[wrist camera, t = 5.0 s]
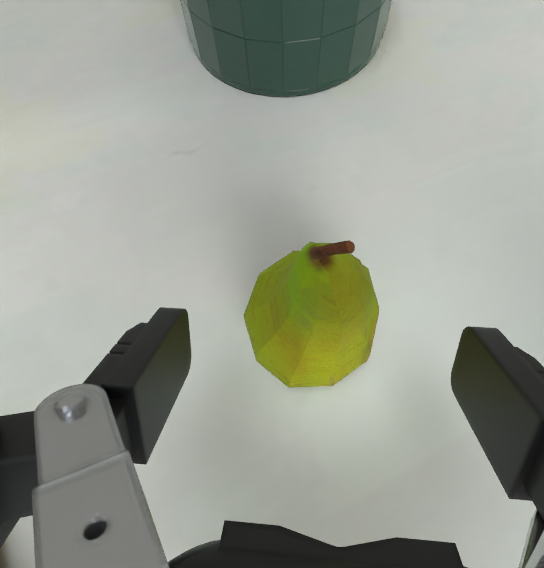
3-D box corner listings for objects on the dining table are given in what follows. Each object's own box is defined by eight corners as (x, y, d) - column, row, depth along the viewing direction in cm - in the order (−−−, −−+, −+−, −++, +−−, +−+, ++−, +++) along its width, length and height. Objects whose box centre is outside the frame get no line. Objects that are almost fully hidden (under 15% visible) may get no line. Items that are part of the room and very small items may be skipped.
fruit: (293, 258, 22) (297, 77, 10) (389, 316, 20) (514, 179, 9) (226, 349, 20) (145, 251, 9) (325, 420, 18) (383, 412, 7)
